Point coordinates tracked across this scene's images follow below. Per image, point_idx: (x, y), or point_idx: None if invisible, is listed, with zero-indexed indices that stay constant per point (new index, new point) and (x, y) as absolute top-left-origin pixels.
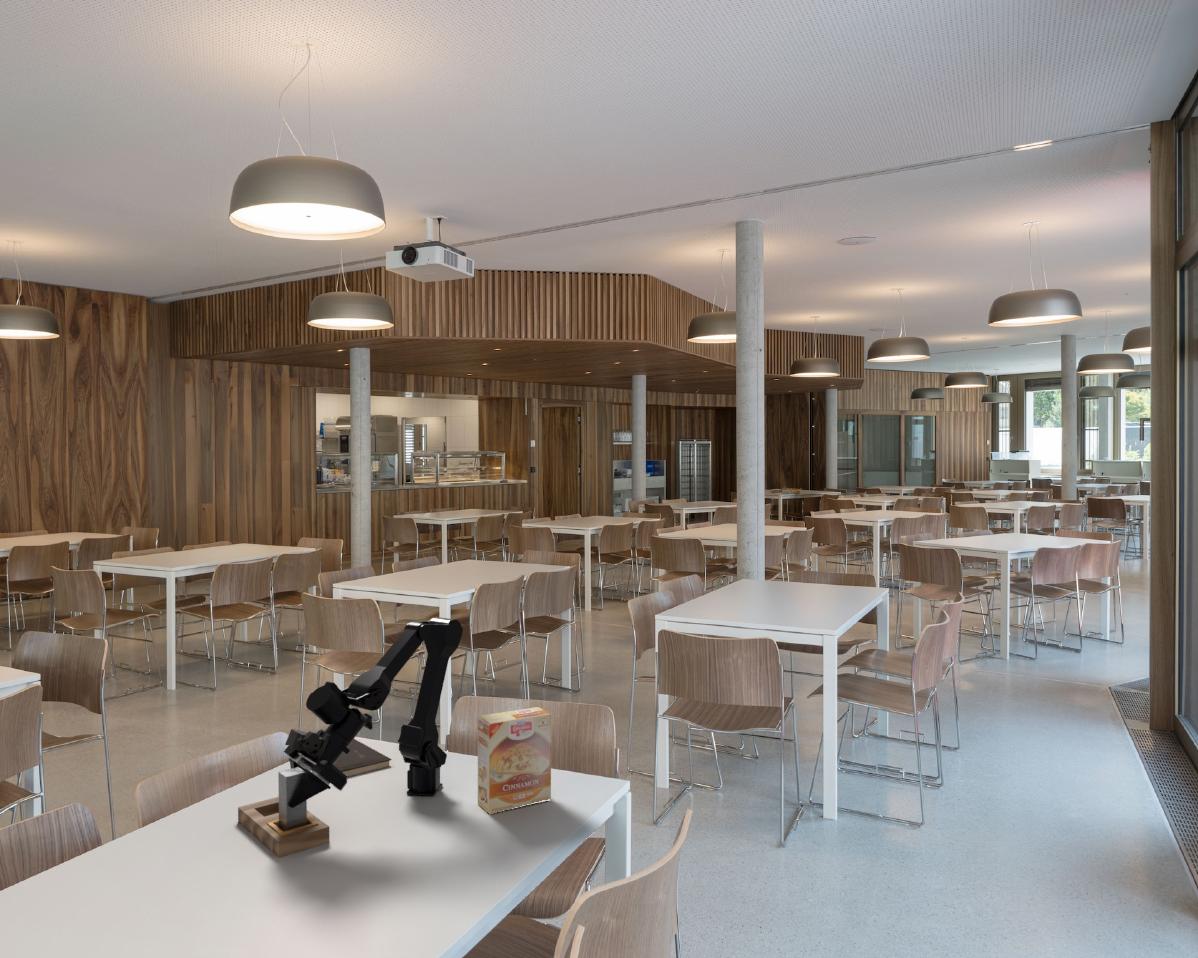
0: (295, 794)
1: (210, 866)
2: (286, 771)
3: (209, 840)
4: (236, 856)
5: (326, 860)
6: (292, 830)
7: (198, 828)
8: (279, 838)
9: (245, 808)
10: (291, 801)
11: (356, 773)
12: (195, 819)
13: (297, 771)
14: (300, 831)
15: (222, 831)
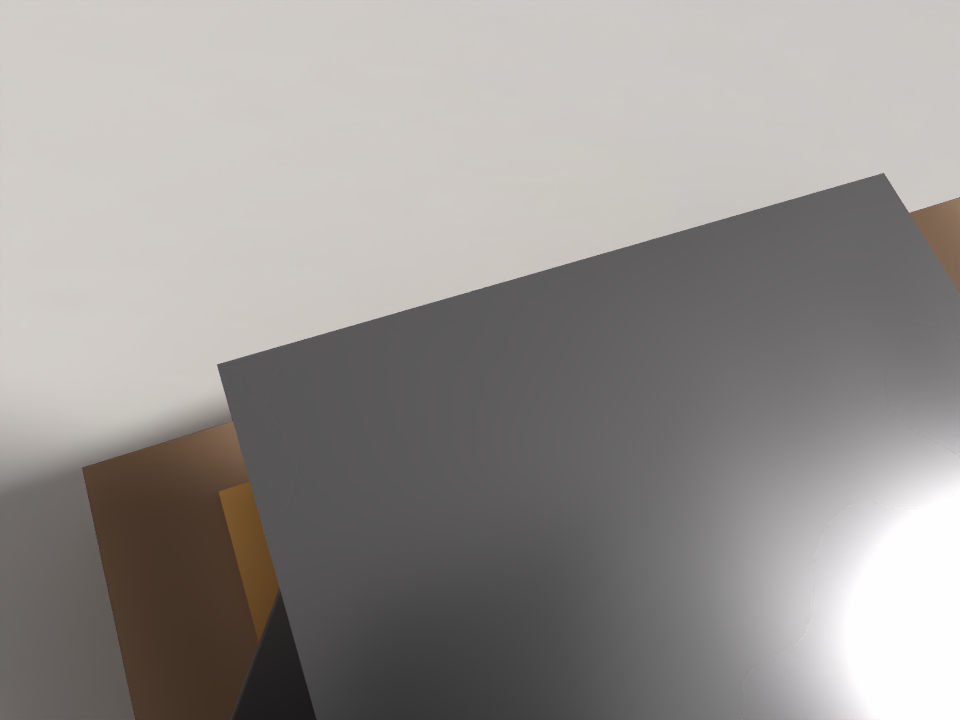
0: (289, 684)
1: (226, 80)
2: (861, 406)
3: (634, 94)
4: (310, 218)
5: None
6: (262, 613)
7: (826, 55)
8: (155, 479)
9: (939, 239)
10: (282, 598)
11: None
12: (955, 49)
13: None
14: (235, 704)
15: (752, 162)
